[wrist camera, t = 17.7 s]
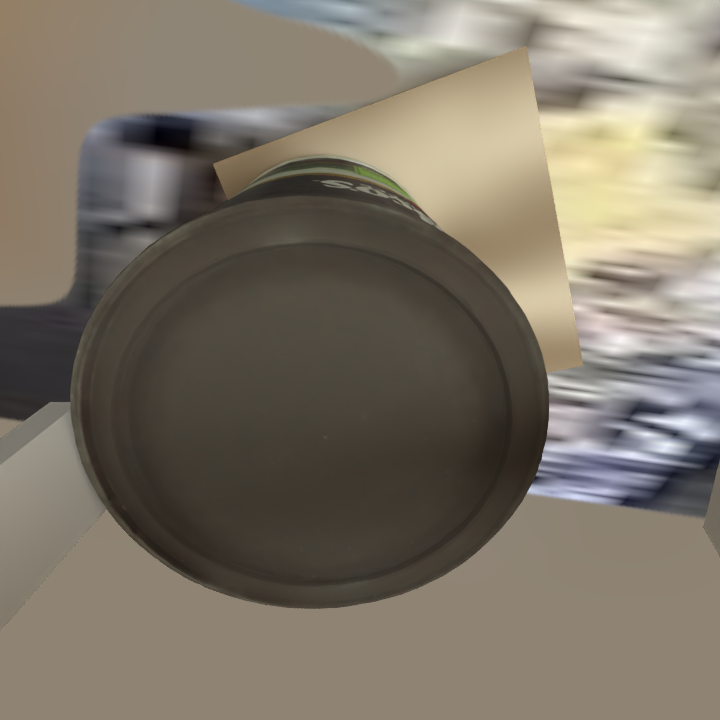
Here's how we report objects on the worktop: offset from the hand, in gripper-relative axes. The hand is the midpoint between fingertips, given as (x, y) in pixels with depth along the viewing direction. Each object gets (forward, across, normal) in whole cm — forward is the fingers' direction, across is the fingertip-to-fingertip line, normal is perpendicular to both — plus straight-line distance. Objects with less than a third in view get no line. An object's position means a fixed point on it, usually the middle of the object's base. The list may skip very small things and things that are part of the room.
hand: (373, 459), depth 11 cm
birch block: (+21, -1, 0) cm, 21 cm away
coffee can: (+14, -4, 0) cm, 15 cm away
